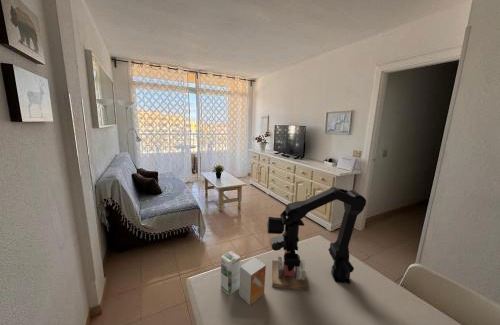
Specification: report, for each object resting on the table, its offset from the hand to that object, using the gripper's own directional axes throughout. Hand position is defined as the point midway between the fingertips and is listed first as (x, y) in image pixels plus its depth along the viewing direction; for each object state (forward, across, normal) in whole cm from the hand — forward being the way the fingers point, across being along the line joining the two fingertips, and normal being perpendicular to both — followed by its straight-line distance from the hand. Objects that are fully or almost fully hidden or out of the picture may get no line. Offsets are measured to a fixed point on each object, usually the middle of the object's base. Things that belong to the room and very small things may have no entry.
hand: (289, 265), depth 89 cm
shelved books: (+3, 0, +5) cm, 6 cm away
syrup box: (+5, +10, -24) cm, 27 cm away
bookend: (+4, 0, -4) cm, 5 cm away
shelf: (+5, 0, 0) cm, 5 cm away
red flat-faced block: (+2, 0, 0) cm, 3 cm away
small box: (+5, +12, -15) cm, 20 cm away
